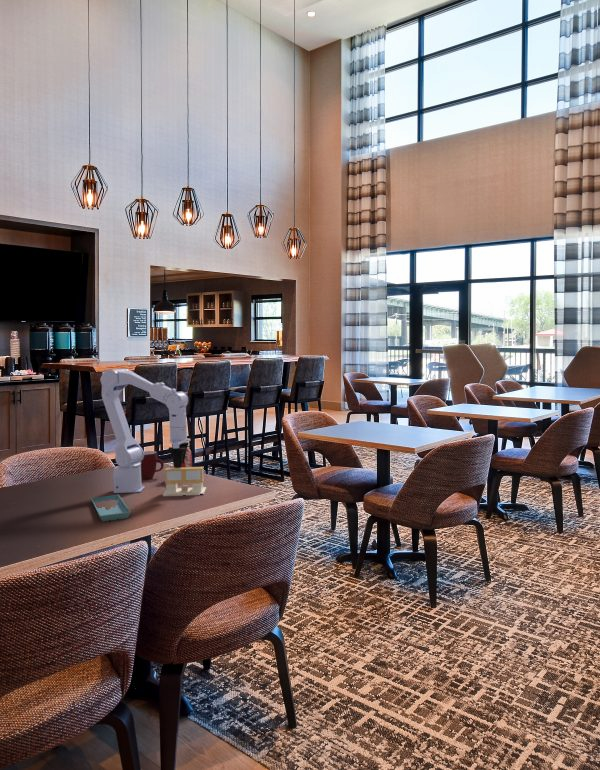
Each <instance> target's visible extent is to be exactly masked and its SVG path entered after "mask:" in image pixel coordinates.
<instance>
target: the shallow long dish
mask: <svg viewBox="0 0 600 770" xmlns="http://www.w3.org/2000/svg"><path fill="white" fill-rule="evenodd" d="M90 500H91V502H92V503H93V506H94V508H95V510H96V512H97V514H98V516H99V519H100V520H101V522H110V521H109V520H111V521H117V519H119V520H125V519H128V518H129V517H130V514H131V511H130V509H129V507H128V506H127V505H126V504H125V502H124V500H123V498H122V497H121V496H120V494H114V495H107V496H106V495H105V496H98V497H91V498H90ZM109 500H117V501H118V503H116V504H117V505H115V506H116V507H114V506H113V507H114V508H113V507H111V508H110V509H109V510H106V509H105V507H102V508H97V507H96V505H95V502H102V501H109Z"/></svg>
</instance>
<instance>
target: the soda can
mask: <svg viewBox="0 0 600 770" xmlns="http://www.w3.org/2000/svg"><path fill="white" fill-rule="evenodd" d="M192 459H193V457H192V451H191V449H190V446H188V447H187V450H186V455H185V461H184V463H182V466H181V468H182V467H193V460H192ZM172 465H174V463H173V464H172ZM173 468H175V467H174V466H173Z"/></svg>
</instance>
